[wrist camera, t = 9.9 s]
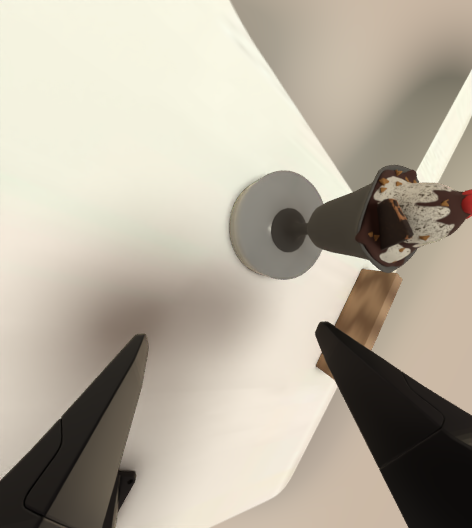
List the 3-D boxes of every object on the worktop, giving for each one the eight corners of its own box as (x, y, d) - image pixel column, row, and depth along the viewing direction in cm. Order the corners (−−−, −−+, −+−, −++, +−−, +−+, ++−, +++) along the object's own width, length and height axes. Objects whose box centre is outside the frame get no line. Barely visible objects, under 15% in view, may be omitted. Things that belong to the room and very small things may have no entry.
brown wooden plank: (323, 369, 30) (353, 391, 25) (315, 365, 29) (345, 388, 25) (367, 274, 32) (402, 279, 28) (362, 268, 32) (397, 273, 27)
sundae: (318, 218, 22) (577, 179, 9) (297, 268, 22) (537, 312, 8) (279, 187, 20) (567, 59, 6) (254, 244, 19) (506, 247, 5)
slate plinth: (282, 291, 25) (297, 297, 22) (209, 242, 20) (218, 242, 17) (320, 218, 26) (340, 215, 24) (262, 157, 22) (277, 145, 19)
